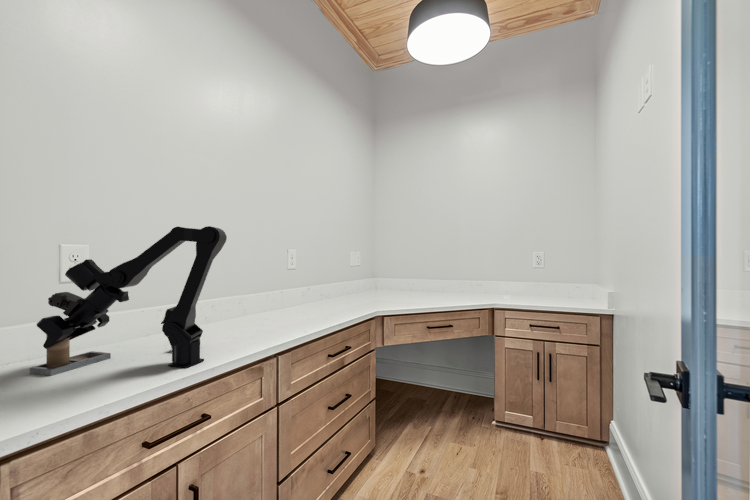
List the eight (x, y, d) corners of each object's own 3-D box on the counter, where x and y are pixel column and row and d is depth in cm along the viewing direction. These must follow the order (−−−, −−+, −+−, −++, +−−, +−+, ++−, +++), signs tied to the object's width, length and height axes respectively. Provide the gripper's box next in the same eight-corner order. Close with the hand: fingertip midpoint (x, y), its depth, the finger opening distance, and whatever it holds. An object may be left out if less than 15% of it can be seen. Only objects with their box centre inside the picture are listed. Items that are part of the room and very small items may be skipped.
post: (73, 367, 92) (73, 323, 92) (54, 373, 88) (54, 326, 88) (61, 366, 93) (61, 322, 93) (42, 371, 89) (42, 325, 89)
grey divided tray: (110, 358, 100) (110, 353, 100) (50, 375, 86) (50, 370, 86) (91, 356, 102) (91, 351, 102) (29, 373, 88) (29, 367, 88)
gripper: (98, 279, 101) (57, 317, 99) (45, 285, 82) (-7, 332, 81) (127, 305, 102) (86, 343, 100) (81, 316, 83) (30, 364, 82)
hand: (52, 344), depth 91 cm, fingers closed on post, 4 cm apart
